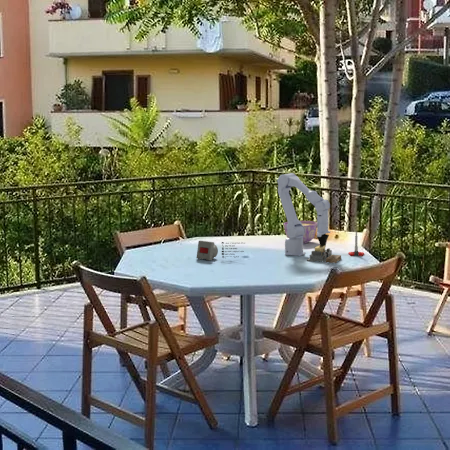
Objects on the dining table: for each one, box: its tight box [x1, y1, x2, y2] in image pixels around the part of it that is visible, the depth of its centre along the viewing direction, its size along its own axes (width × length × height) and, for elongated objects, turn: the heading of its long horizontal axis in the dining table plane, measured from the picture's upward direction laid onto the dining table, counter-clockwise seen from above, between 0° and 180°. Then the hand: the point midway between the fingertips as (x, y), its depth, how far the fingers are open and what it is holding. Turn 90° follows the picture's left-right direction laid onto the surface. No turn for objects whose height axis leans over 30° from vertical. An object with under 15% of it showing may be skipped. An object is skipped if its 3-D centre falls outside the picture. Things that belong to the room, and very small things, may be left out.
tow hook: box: [347, 231, 365, 257], centre depth 426 cm, size 8×13×9 cm
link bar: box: [314, 244, 326, 254], centre depth 416 cm, size 3×9×4 cm, turn 157°
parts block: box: [325, 254, 342, 264], centre depth 411 cm, size 5×11×2 cm, turn 157°
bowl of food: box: [283, 220, 317, 245], centre depth 467 cm, size 20×20×12 cm
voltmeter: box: [196, 240, 246, 261], centre depth 423 cm, size 27×11×10 cm, turn 83°
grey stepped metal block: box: [306, 247, 334, 263], centre depth 417 cm, size 10×17×5 cm, turn 157°
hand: (322, 248), depth 421 cm, fingers closed
